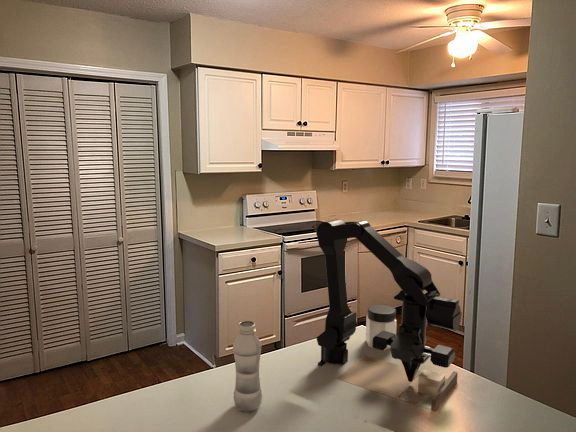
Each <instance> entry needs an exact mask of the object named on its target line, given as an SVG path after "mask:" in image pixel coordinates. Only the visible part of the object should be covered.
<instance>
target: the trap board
mask: <svg viewBox="0 0 576 432" xmlns="http://www.w3.org/2000/svg"><path fill="white" fill-rule="evenodd" d="M421 372H422V370H418V371H417V373H416V376H415V378H414V380H413V381H412V382H410V381H408V378H407V375H406V372H405V369H404V366H403V365H401V364H396V363H393V362H389V361H386V360H383V359H379V358H376V357H372V356H369V355H363V356H362V357H361V358H360V359H359V360H358V361H356V362H355V363H354V364H353V365H351V366H350V367H348V368H347V369H346V370H345V371H344V372H342V373H341V374H340V375H339V376H337V377H336V379H337V380H339V381H342V382H346V383H348V384H352V385H354V386H357V387H360V388H363V389H366V390H369V391H373V392H376V393H378V394H381V395H384V396H388V397H392V398H394V399H397V400H400V401H403V402H406V403H409V404H411V405H414V406H417V407H422V408H423V409H427V410H430V411H433V412H436V411H437V410H438V409H439V408H440V406H441V404H442V403H443V402H444V401H445V399H446V398H447V396H448V395H449V394H450V393H451V391H452V389H453V388H454V387H455V385H457V383H458V373H459V372H457V371H455V370H453V371H452V372H451V373H450V375H449V376H448V378H446V377H445V383H444V384H443V385H442V387H441V388H440V389H439V390H438V392H437V393H436V394H435V396H431V395H427V394H424V393H421V392H418V379H416V378H418V377H419V375H420V374H421ZM404 391H409V392H411V393H415V394H418V395H421V396H423V399H422V400H421V401H420V402H418V401H417V402H416V401H413V400H410V399H407V398H404V397H402V396H401V395H402V394H403V392H404ZM400 396H401V397H400Z"/></svg>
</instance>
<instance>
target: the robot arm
mask: <svg viewBox="0 0 576 432" xmlns="http://www.w3.org/2000/svg"><path fill="white" fill-rule="evenodd" d="M315 233H316V239H317V243H318V246H319V248H320V249H321V252H323V254H324V259H325V270H326V282H327V283H326V285H327V295H328V305H329V306H328V311H327V314H326V317H325V322H324V323H325V324H324V331H323V332H322V333H319V335H318V336H316V338H315V339H316V342H317V346H318V347H319V346H320V361H318V362H317V365H318V366H320V367H322V366H324V365H325V364H327V363H328V364H331V365H344V364H346V363H348V362H349V361H348V360H349V349H347V347H348V346H347V344H348V343H347V341H349V340H350V339H351V336H353V335H354V334H355V333H356V330H357V327H359V325H358V322H357V311H352V310H351V309H350V307H349V305H348V296H347V294H348V293H347V283H346V282H347V281H346V272H345V271H346V270H345V269H346V268H345V260H344V259H345V258H344V253H345V249H346V246H347V243H348V239H356V240H357V241H359V243H360V244H362V245H363V246H364V247H365V248H366V249H367V250H368V251H369V252H370V253H371V254H372V255H374V257H375V258H376V259H378V260H379V261H380V262H381V264H382V265H384V266H385V267H386V268H387V270H389V271H390V273H391V275H392V277H393V280H394V281H395V283H396V285H397V286H398V287H399V288H400V289H401V290H400V291H399V292H398V293H397V294H396V295H394V296H393V299H394V300H396V301H401V302H402V303H401V304H402V305H401V321H400V324H399V326H398V332H397V333H396V334H395V333H391V332H387V331H381V332H380V333H379V334H377V335H376V336H375V337H373V340H372V347H373V348H372V347H371V348H372V349H375V350H376V349H377V350H381V351H385V350H384V349H386V348H387V345H389V346H391V348H390V352H391V358H392V359H394V360H399V361H401V363H402V366H404V369H405V372H406V375H407V378H408V381H410V382H412V381H413V380H414V378H415V376H416V373H417V371H419V369H420V367H421V365H423V364H425V362H427V361H428V359H430V362H431V364H432V365H434V366H437V367H441V368H449V367H450V366H451V364H452V363H453V362H454V361H455V359H456V351H455V350H454V349H453V347H449V346H446V345H442V344H438V345H436V346H435V348H432V347H430V346H427V345H426V344H427V342H428V341H427V340H428V338H426V337H427V336H426V333H427V328H428V323H429V325H431V326H434V327H438V328H441V329H442V328H443V329H445V330H451V331H453V332H456V331H458V329H459V327H460V325H461V322H462V313H463V312H462V310H461V306H460V301H459V300H458V299H453V298H451V299H450V298H444V297H440V296H441V292H440V291H439V289H438V288H437V286H436V285H435V283H434V281H433V280H432V273H431V272H430V271H429V269H427V268H426V267H425V266H424V265H422V264H420V263H419V262H417V261H416V260H413V259H410V258H407V257H406V256H404V255H403V254H402V253H401V252H400V251H398V250H397V248H395V247H394V246H393V245H392V244H391V242H389V241H388V240H387V239H385V237H383V236H382V235H381V234H380V233H379V232H378V231H377V230H376V229H375V228H373V227H372V226H371V224H370V223H369V222H368V221H367V220H359V221H345V222H344V221H343V220H342V219H339V218H335V219H331V220H328V221H321V222H320V223H319V225H318V226H317V227H316V230H315ZM424 291H426V293H425V292H424ZM386 350H387V349H386ZM415 379H416V378H415Z"/></svg>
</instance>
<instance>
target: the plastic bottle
mask: <svg viewBox="0 0 576 432" xmlns="http://www.w3.org/2000/svg"><path fill="white" fill-rule="evenodd" d="M256 332H257V331H256V322H254V321H252V320H243V321H240V322H239V323H238V333H239V334H238V335H237V337H236V338H235V340H234V341H233V345H232V351H233V356H234V361H235V362H234V364H235V366H234V367H235V384H234V391H233V402H234V405H235V407H236V408H237V409H238V410H239V411H241V412H245V413H247V412H248V413H250V412H254V411H256V410H257V409H259V408H260V407H261V405H262V401H263V393H262V387H261V381H260V380H261V378H260V360H261V352H262V343H261V340H260V339H259V337H258V336H257V335H256Z"/></svg>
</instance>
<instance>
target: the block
mask: <svg viewBox="0 0 576 432" xmlns="http://www.w3.org/2000/svg"><path fill="white" fill-rule="evenodd" d="M445 378H446V374H443V373H439V372H437V371H436V372H435V371H432V370H429V369H427V368H426V369H423V370H421V373H420V374H419V375H418V377H417V380H418V392H421V393H424V394H427V395H431V396H435V394H436V393H437V392H438V390H439V389H440V388H441V387H442V385H443V384H444V383H445Z"/></svg>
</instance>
